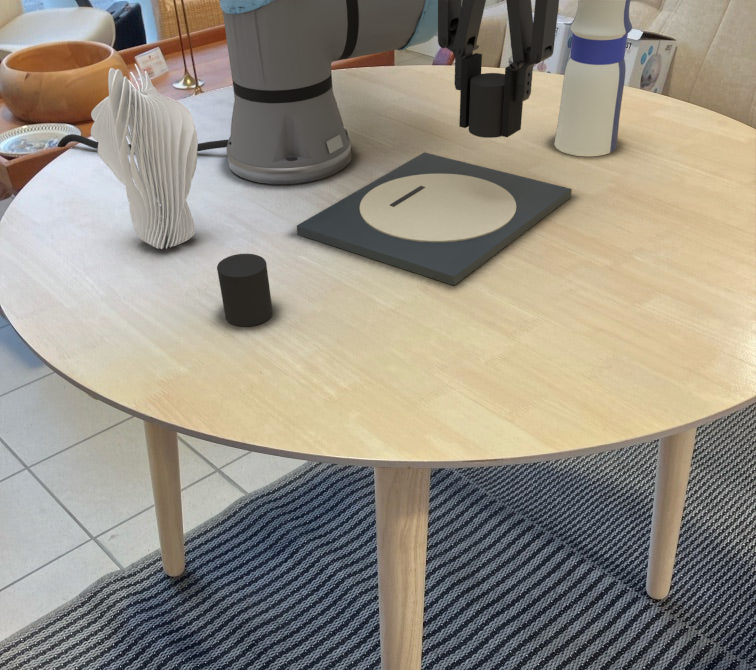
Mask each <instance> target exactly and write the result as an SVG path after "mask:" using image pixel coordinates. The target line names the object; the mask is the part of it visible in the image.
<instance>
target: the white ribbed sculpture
mask: <svg viewBox="0 0 756 670" xmlns="http://www.w3.org/2000/svg"><path fill="white" fill-rule="evenodd" d="M134 67H135V69H136V71H137V73H138V77H139V79H140V83H141V86H140V84H139V82H138V81H137V78H136V76H135V75H134V73H133V71H130V72H129V74H130V76H131V78H132V79H133V80H134V82H135V83H136V86H137V88H136V86H135V85H134V84H133V83H132V82H131V80H130V79H128V76H126V75H125V76H124V74H123V72H122V70H121V69H119V68H117V69H115V68H113V67H110V68H109V71H108V75H107V85H108V86H107V87H108V96H106V97H105V98H103V99H102V101H100V102H98V104H97V105H95V106H94V108H93V109H92V110H91V113H90V116H91V119H92V121H93V123H92V126H91V128H90V136H91V137H92V139H93V140H94V141H96V142H99V143H98V149H97V154H98V156H99V158H100V159H101V161H102V162H103V163H104V164H105V165H106V166H107V167H108V169H109V170H110V171H111V173H112V174H113V175H114V176H115V178H116V180H118V181H119V182H120V183H121V184H123V185H124V187H125V191H126V197H127V200H128V201H127V202H128V203H129V205H128V207H129V214H130V219H131V223H132V227H133V230H134V232H135V234H136V235H137V236H138V238H139V239H140V240H142V241H143V242H144V243H146V244H148V245H150V246H151V247H153V248H156V249H160V250H163V249H164V248H165V249H166V250H167V249H168V248H172V247H175V246H178V245H181V244H182V243H185V242H187V241H189V240H190V239H192V238H193V237H194V235H195V230H196V228H195V222H194V218H193V216H192V212H191V210H190V207H189V204H188V201H187V199H188V196H189V194H190V191H191V187H192V182H193V179H194V176H195V173H196V169H197V164H198V152H197V147H198V144H199V138H198V137H199V136H198V132H197V127H196V125H195V123H194V119H193V118H194V117H193V115H192V113H191V112H190V110H189V109H188V107H186V105H184V104H183V103H182V102H180V101H179V100H177V99H174V98H172V97H169V96H168V95H164V94H163V93H160V92H159V91H158V89H157V88H156V87H154V85H153V82H152V80H151V77H150V76H149V74H148V71H147V70H144V75H145V77H144V76H143V73H142V72H141V69H140V68H139V67H138V65H137V63H134ZM129 144H131V150H130V147H129ZM135 159H136V160H135Z"/></svg>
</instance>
